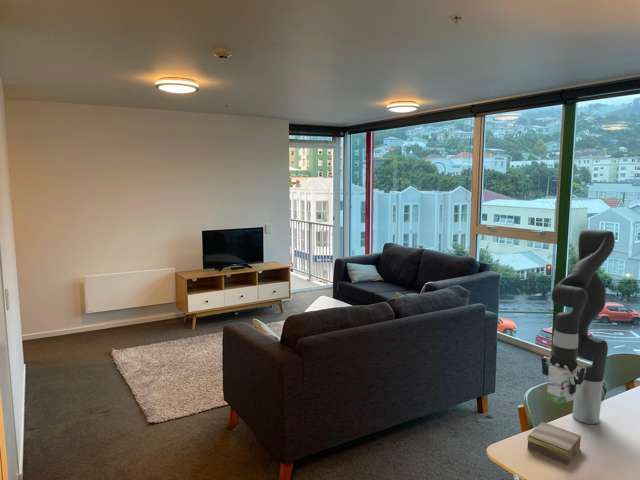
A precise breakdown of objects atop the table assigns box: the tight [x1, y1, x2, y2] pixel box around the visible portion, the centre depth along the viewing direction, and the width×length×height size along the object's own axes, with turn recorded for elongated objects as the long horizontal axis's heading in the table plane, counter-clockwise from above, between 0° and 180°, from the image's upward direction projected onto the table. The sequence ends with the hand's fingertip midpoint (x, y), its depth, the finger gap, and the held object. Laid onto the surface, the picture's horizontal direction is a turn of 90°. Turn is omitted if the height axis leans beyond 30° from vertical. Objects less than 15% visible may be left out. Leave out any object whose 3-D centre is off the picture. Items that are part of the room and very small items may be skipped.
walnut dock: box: [526, 421, 582, 466], centre depth 164 cm, size 14×13×5 cm
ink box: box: [546, 365, 577, 405], centre depth 161 cm, size 8×5×12 cm, turn 117°
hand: (561, 390), depth 161 cm, fingers closed on ink box, 6 cm apart
